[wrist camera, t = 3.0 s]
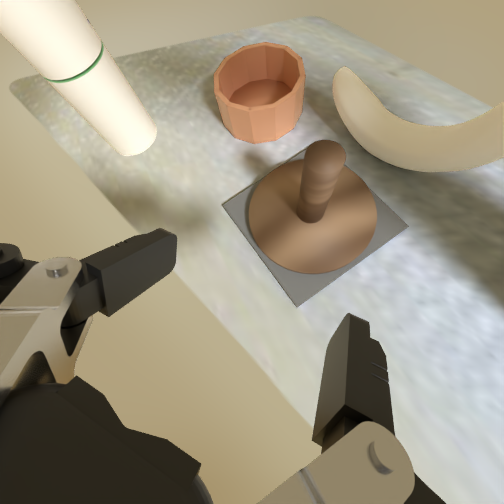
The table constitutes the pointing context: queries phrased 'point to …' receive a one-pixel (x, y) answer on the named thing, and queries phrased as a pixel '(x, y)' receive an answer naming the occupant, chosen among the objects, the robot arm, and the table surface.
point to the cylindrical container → (79, 69)
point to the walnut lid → (313, 212)
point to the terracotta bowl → (260, 91)
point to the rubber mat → (310, 284)
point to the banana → (416, 132)
